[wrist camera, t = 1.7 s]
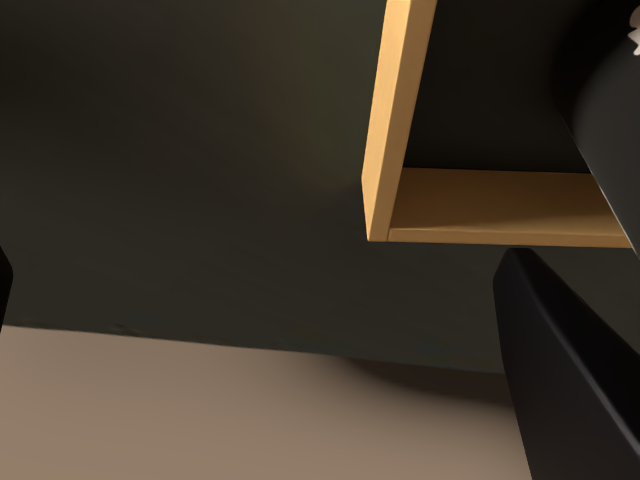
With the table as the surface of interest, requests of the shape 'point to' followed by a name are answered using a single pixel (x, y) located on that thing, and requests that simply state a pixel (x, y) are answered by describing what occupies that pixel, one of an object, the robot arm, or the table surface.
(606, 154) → the beverage can
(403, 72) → the wooden rectangular frame
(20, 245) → the table surface
